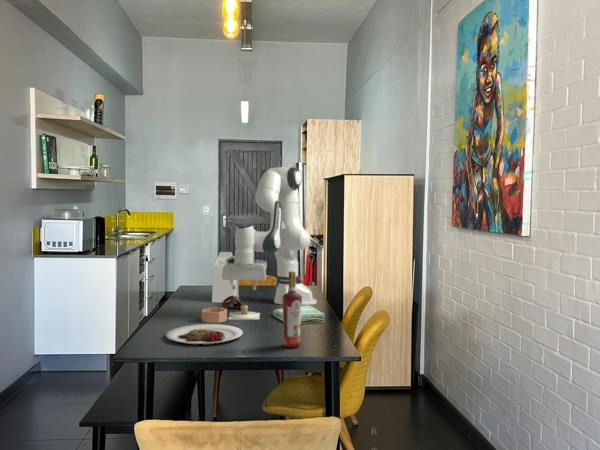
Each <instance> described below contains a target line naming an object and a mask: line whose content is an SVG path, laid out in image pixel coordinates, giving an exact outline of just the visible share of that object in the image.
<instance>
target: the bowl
mask: <svg viewBox="0 0 600 450" xmlns="http://www.w3.org/2000/svg"><path fill="white" fill-rule="evenodd" d="M227 320H228V308H222V307H207V308H203V309H202V310H201V322H203V323H206V324H211V323H212V324H216V323H217V324H218V323H222V322H227Z"/></svg>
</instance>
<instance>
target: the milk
mask: <svg viewBox="0 0 600 450" xmlns="http://www.w3.org/2000/svg"><path fill="white" fill-rule="evenodd" d="M232 256H234V255H233V253H232V252H231V251H220V252H219V254H218V257H217V259H216V260H215V263H214V266H213V277H212V289H211V290H212V291H211V292H212V295H211V303H222V302H223V300H225V299H226V298H227V297H229V296H236V297H237V298H238V299H239V300H240V295H239V294H240V293H239V280H233V282H232V283H233V285H235V290H232V285H231V283H230V280H224V279H223V278H222V272H223V267H224V265H225V264H226V263H225V259H227V258H229V257H232ZM230 300H231V299H230ZM230 300H229V301H230ZM227 302H228V301H227Z"/></svg>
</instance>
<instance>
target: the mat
mask: <svg viewBox="0 0 600 450" xmlns="http://www.w3.org/2000/svg"><path fill="white" fill-rule="evenodd" d="M231 313H232V312H229V316H228V317H227V320H237V319H236V318H232V317H230V314H231ZM257 313H258V314H259V316H258V317H256V318H251V319H250V320H260V316H261V313H260V312H257Z"/></svg>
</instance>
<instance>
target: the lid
mask: <svg viewBox="0 0 600 450" xmlns="http://www.w3.org/2000/svg"><path fill="white" fill-rule="evenodd" d="M248 308H249V306H248V304H242V305H241V309H240V311H235V312H230V313H231V314H230V313H229V315H230V317H232V318H236V319H235V320H252V319H251V318H256V317H258V316H259V314H258V313H259V312H255V311H249V309H248Z"/></svg>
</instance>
